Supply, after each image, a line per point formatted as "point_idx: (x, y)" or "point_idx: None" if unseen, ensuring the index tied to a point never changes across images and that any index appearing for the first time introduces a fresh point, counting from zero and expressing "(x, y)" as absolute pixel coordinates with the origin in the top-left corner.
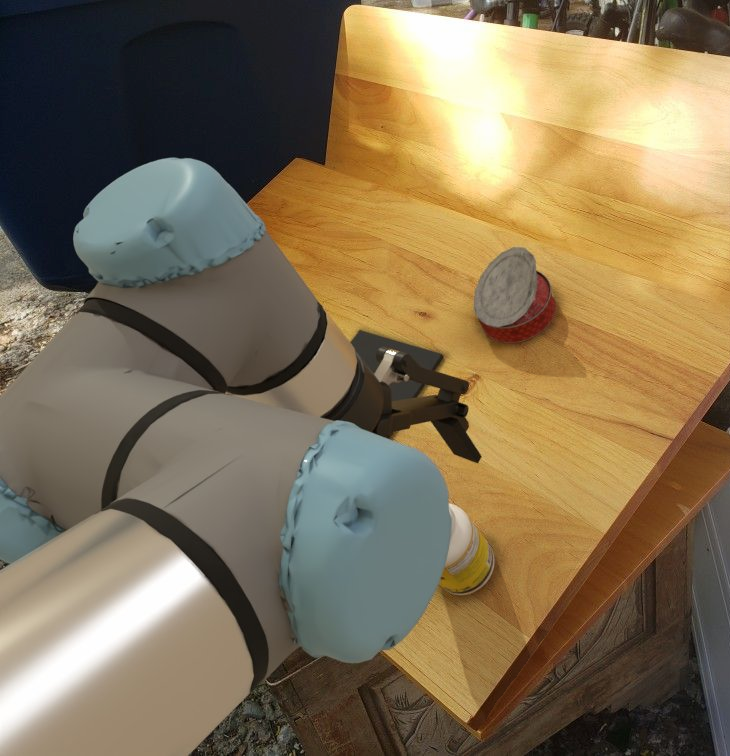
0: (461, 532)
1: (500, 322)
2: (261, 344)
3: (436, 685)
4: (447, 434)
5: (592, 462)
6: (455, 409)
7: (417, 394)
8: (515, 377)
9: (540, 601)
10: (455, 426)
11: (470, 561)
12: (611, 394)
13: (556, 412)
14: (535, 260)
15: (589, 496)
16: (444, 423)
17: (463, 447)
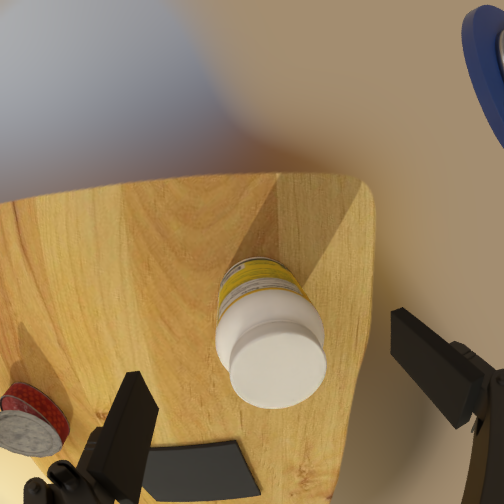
0: (248, 314)
1: (45, 425)
2: None
3: (374, 225)
4: (134, 454)
5: (68, 252)
6: (72, 488)
7: (154, 448)
8: (69, 384)
9: (233, 186)
10: (100, 465)
11: (264, 278)
12: (15, 286)
13: (59, 325)
14: None
15: (97, 226)
16: (115, 485)
17: (131, 413)
